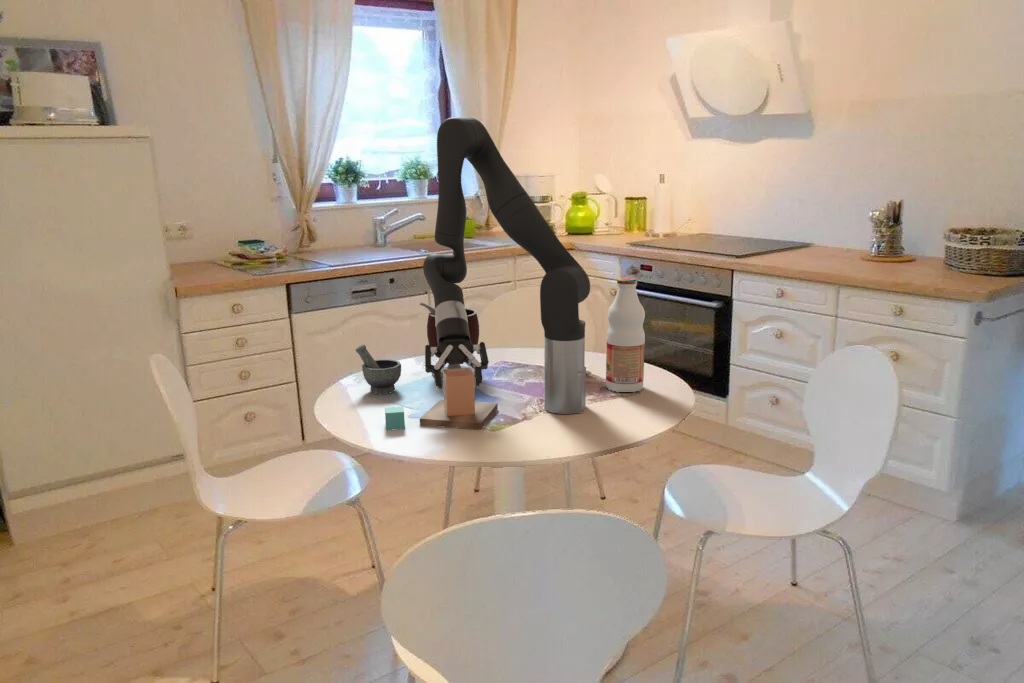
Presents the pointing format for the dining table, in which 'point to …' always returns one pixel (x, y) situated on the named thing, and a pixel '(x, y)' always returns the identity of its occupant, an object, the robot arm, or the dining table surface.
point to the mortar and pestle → (379, 372)
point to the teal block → (394, 418)
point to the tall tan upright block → (459, 391)
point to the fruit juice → (625, 339)
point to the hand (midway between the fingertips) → (459, 385)
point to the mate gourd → (432, 333)
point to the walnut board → (459, 416)
